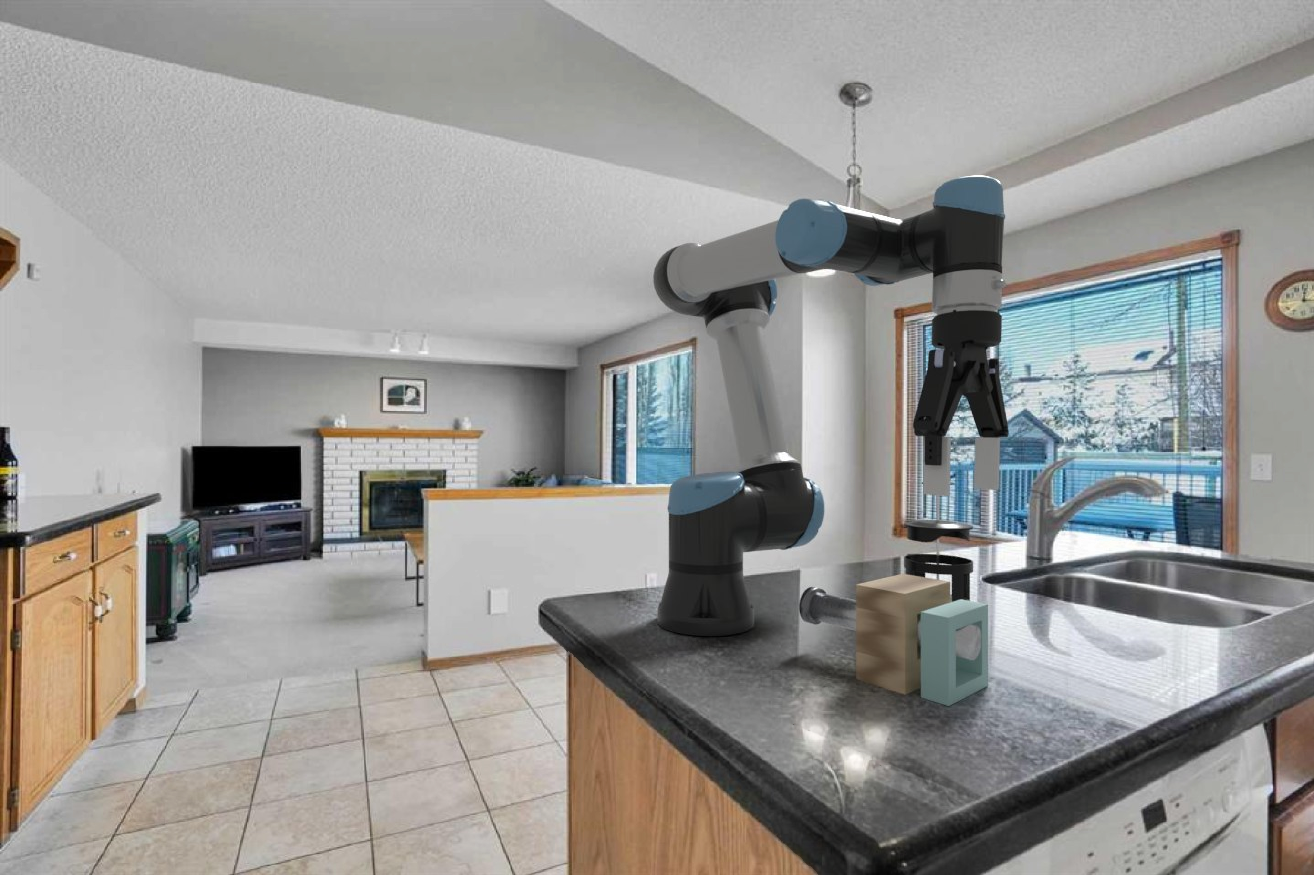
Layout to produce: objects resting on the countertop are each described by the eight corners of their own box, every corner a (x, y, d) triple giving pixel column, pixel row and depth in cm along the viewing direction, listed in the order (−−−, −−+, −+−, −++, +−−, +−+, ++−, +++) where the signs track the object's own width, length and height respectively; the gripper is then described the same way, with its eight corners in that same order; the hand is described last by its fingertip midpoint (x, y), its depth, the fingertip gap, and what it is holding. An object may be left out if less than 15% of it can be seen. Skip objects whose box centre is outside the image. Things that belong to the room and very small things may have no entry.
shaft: (799, 625, 84) (799, 589, 84) (821, 619, 87) (821, 584, 87) (963, 669, 68) (963, 624, 68) (983, 660, 70) (983, 617, 71)
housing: (856, 690, 74) (856, 584, 74) (902, 670, 81) (902, 573, 81) (905, 706, 70) (905, 593, 70) (950, 684, 76) (950, 581, 76)
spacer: (920, 697, 69) (920, 611, 69) (961, 678, 75) (961, 599, 75) (948, 706, 66) (948, 617, 67) (988, 685, 72) (987, 604, 72)
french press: (994, 654, 87) (993, 482, 87) (930, 659, 85) (930, 483, 85) (939, 630, 99) (939, 478, 99) (883, 633, 97) (882, 478, 97)
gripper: (950, 293, 66) (946, 501, 67) (1038, 322, 83) (1035, 489, 83) (882, 303, 72) (879, 494, 72) (978, 328, 89) (974, 485, 89)
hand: (962, 492), depth 78 cm, fingers open, 13 cm apart
